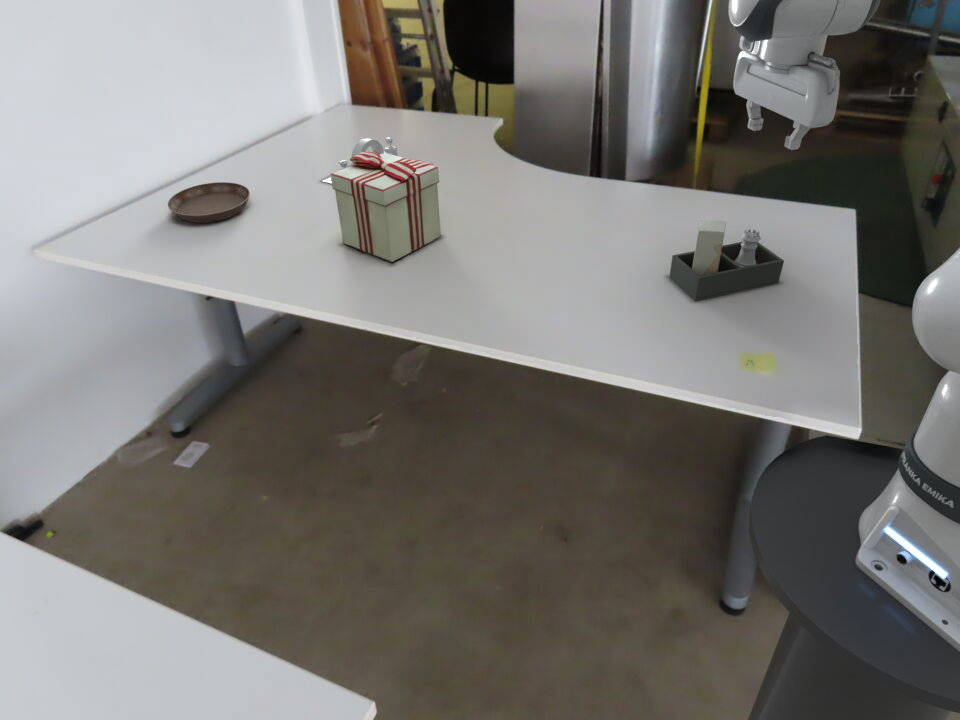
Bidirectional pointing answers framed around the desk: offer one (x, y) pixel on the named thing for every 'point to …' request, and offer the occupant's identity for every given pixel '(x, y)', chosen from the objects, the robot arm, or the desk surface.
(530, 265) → the desk surface
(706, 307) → the desk surface
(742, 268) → the divided tray
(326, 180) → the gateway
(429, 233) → the gift box
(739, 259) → the rook chess piece
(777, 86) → the robot arm
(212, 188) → the plant saucer
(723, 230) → the box
